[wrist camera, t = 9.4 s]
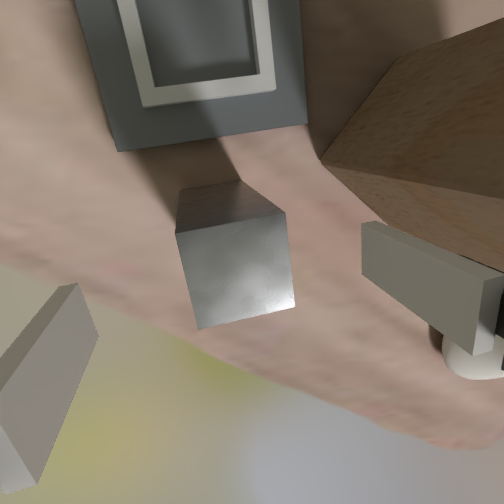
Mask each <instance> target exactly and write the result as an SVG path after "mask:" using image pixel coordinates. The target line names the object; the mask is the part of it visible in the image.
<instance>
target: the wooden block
mask: <svg viewBox="0 0 504 504" xmlns="http://www.w3.org/2000/svg"><path fill="white" fill-rule="evenodd" d="M320 161H321V163H322V165H323V166H324V167H325V168H326V169H327V170H329V171H330V172H331V173H332V174H333V175H334V176H335V177H336V178H337V179H338V180H340V181H341V182H342V183H343V184H344V185H345V186H346V187H347V188H348V189H349V190H351V191H352V192H353V193H354V194H355V195H356V196H357V197H358V198H359V199H360V200H361V201H363V202H364V203H365V204H366V205H367V206H368V207H369V208H370V209H371V210H372V211H374V212H375V213H376V214H377V215H378V216H379V217H380V218H381V219H382V220H383V221H385V222H386V223H387V224H388V225H389V226H391V227H393V228H396V229H398V230H400V231H403V232H405V233H407V234H410V235H412V236H414V237H417V238H419V239H421V240H424V241H426V242H428V243H431V244H433V245H436V246H438V247H440V248H443V249H445V250H448V251H450V252H452V253H455V254H459V255H463V256H465V257H468V258H470V259H473V260H475V262H476V261H478V262H480V263H482V264H485V266H490V267H492V268H495V269H497V270H499V271H502V272H504V18H501V19H499V20H496V21H493V22H491V23H488V24H485V25H483V26H480V27H477V28H475V29H472V30H470V31H467V32H464V33H462V34H459V35H456V36H454V37H451V38H449V39H446V40H443V41H441V42H438V43H435V44H433V45H430V46H427V47H425V48H422V49H420V50H417V51H414V52H412V53H409V54H406V55H404V56H401V57H400V58H398V59H397V60H396V61H395V62H394V64H393V65H392V66H391V67H390V69H389V70H388V71H387V73H386V74H385V75H384V76H383V78H382V79H381V80H380V82H379V83H378V84H377V85H376V87H375V88H374V89H373V91H372V92H371V93H370V95H369V96H368V97H367V98H366V100H365V101H364V102H363V104H362V105H361V106H360V107H359V109H358V110H357V111H356V113H355V114H354V115H353V116H352V118H351V119H350V120H349V122H348V123H347V124H346V126H345V127H344V128H343V129H342V131H341V132H340V133H339V135H338V136H337V137H336V138H335V140H334V141H333V142H332V144H331V145H330V146H329V147H328V149H327V150H326V151H325V153H324V154H323V155H322V157H321V159H320Z"/></svg>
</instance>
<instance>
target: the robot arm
mask: <svg viewBox="0 0 504 504" xmlns="http://www.w3.org/2000/svg"><path fill="white" fill-rule="evenodd" d="M361 236H362V275H364V276H365V277H366V278H368V279H369V280H370V281H372V282H373V283H374V284H376V285H377V286H378V287H380V288H381V289H382V290H384V291H385V292H386V293H388V294H389V295H391V296H392V297H393V298H395V299H396V300H397V301H399V302H400V303H401V304H403V305H404V306H405V307H407V308H408V309H409V310H411V311H412V312H413V313H415V314H416V315H418V316H419V317H420V318H422V319H423V320H424V321H426V322H427V323H428V324H430V325H431V326H432V327H434V328H435V329H436V330H438V331H439V332H440V333H442V334H443V335H444V336H446V337H447V338H449V339H450V340H451V341H453V342H454V343H455V344H457V345H458V346H459V347H461V348H462V349H463V350H465V351H466V352H467V353H469V354H470V355H471V356H475V355H478V354H482V353H485V352H489V351H492V350H493V346H494V340H495V335H496V334H497V335H498V336H500V337H501V338H503V339H504V272H502V271H499V270H497V269H495V268H492V267H490V266H485V264H482V263H480V262H478V261H476V262H475V260H473V259H470V258H468V257H465V256H463V255H459V254H455V253H452V252H450V251H448V250H445V249H443V248H440V247H438V246H436V245H433V244H431V243H428V242H426V241H424V240H421V239H419V238H416V237H414V236H411V235H409V234H407V233H404V232H402V231H399V230H397V229H395V228H392V227H390V226H387V225H385V224H383V223H380V222H378V221H372V222H367V223H362V224H361ZM98 337H99V335H98V333H97V330H96V327H95V325H94V322H93V320H92V317H91V315H90V312H89V310H88V307H87V304H86V302H85V299H84V297H83V294H82V291H81V289H80V286H79V284H78V283H75V284H70V285H65V286H60V287H58V289H57V290H56V291H55V292H54V293H53V295H52V296H51V297H50V298H49V300H48V301H47V302H46V303H45V304H44V306H43V307H42V308H41V309H40V310H39V312H38V313H37V314H36V316H34V318H33V319H32V320H31V321H30V323H29V324H28V325H27V326H26V327H25V329H24V330H23V331H22V332H21V333H20V335H19V336H18V337H17V338H16V340H15V341H14V342H13V343H12V344H11V346H10V347H9V348H8V349H7V350H6V352H5V353H4V354H3V355H2V356H1V358H0V488H1V489H2V491H3V492H4V494H9V493H12V492H15V491H19V490H22V489H26V488H29V487H32V486H35V485H37V484H38V482H39V479H40V477H41V474H42V472H43V470H44V467H45V465H46V462H47V460H48V458H49V455H50V453H51V450H52V448H53V446H54V443H55V441H56V438H57V436H58V433H59V431H60V429H61V426H62V424H63V421H64V419H65V417H66V414H67V412H68V409H69V407H70V404H71V402H72V400H73V397H74V395H75V393H76V390H77V388H78V385H79V383H80V381H81V378H82V376H83V373H84V371H85V368H86V366H87V364H88V361H89V359H90V356H91V354H92V351H93V349H94V347H95V344H96V342H97V340H98ZM501 370H503V371H504V355H503V360H502V365H501Z"/></svg>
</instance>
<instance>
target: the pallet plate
mask: <svg viewBox="0 0 504 504" xmlns="http://www.w3.org/2000/svg"><path fill="white" fill-rule="evenodd" d="M74 1H75V5H76V8H77V12H78V15H79V19H80V22H81V26H82V29H83V33H84V36H85V40H86V43H87V47H88V50H89V54H90V57H91V61H92V64H93V68H94V71H95V75H96V78H97V82H98V85H99V89H100V92H101V96H102V99H103V103H104V106H105V110H106V113H107V117H108V120H109V124H110V127H111V131H112V134H113V138H114V141H115V145H116V148H117V152H123V151H130V150H136V149H143V148H149V147H156V146H162V145H169V144H176V143H182V142H189V141H195V140H202V139H209V138H215V137H222V136H228V135H235V134H242V133H248V132H255V131H261V130H268V129H274V128H281V127H288V126H294V125H301V124H307V123H308V116H307V101H306V86H305V71H304V56H303V41H302V26H301V12H300V0H74Z"/></svg>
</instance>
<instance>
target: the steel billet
mask: <svg viewBox="0 0 504 504" xmlns="http://www.w3.org/2000/svg"><path fill="white" fill-rule="evenodd" d="M175 236H176V240H177V244H178V249H179V253H180V257H181V261H182V265H183V269H184V273H185V277H186V281H187V286H188V290H189V294H190V298H191V302H192V306H193V310H194V314H195V318H196V322H197V327H198V329H203V328H207V327H211V326H215V325H220V324H224V323H228V322H232V321H237V320H241V319H245V318H249V317H254V316H258V315H262V314H266V313H271V312H275V311H279V310H283V309H288V308H292V307H295V302H294V292H293V282H292V273H291V263H290V253H289V243H288V233H287V224H286V214H285V212H284V211H282V210H281V209H280V208H278V207H277V206H276V205H274V204H273V203H272V202H270V201H269V200H268V199H266V198H265V197H264V196H262V195H261V194H260V193H258V192H257V191H255V190H254V189H253V188H251V187H250V186H249V185H247V184H246V183H245V182H243V181H242V180H239V181H233V182H228V183H222V184H216V185H210V186H204V187H199V188H193V189H187V190H181V191H180V192H179V201H178V210H177V219H176V228H175Z"/></svg>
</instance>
